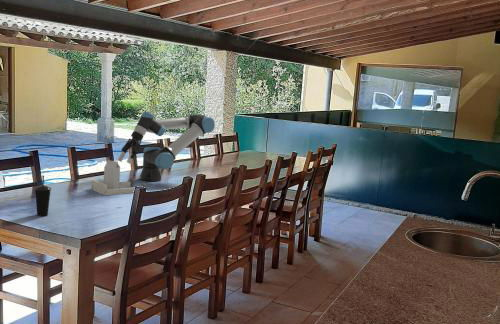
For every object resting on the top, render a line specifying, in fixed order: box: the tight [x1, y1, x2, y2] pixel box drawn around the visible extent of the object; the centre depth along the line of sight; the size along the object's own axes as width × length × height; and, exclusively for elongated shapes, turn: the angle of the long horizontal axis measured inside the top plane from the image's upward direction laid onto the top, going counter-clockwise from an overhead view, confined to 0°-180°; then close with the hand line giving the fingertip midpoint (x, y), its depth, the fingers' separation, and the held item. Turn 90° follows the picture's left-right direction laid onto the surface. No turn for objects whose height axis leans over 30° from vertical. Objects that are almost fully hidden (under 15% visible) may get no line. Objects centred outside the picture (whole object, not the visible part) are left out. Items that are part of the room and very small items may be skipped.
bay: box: [91, 178, 146, 196], centre depth 314 cm, size 28×18×6 cm
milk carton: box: [103, 159, 121, 189], centre depth 310 cm, size 7×7×19 cm
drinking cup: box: [34, 175, 52, 217], centre depth 246 cm, size 8×8×20 cm
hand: (123, 161), depth 324 cm, fingers open, 13 cm apart
